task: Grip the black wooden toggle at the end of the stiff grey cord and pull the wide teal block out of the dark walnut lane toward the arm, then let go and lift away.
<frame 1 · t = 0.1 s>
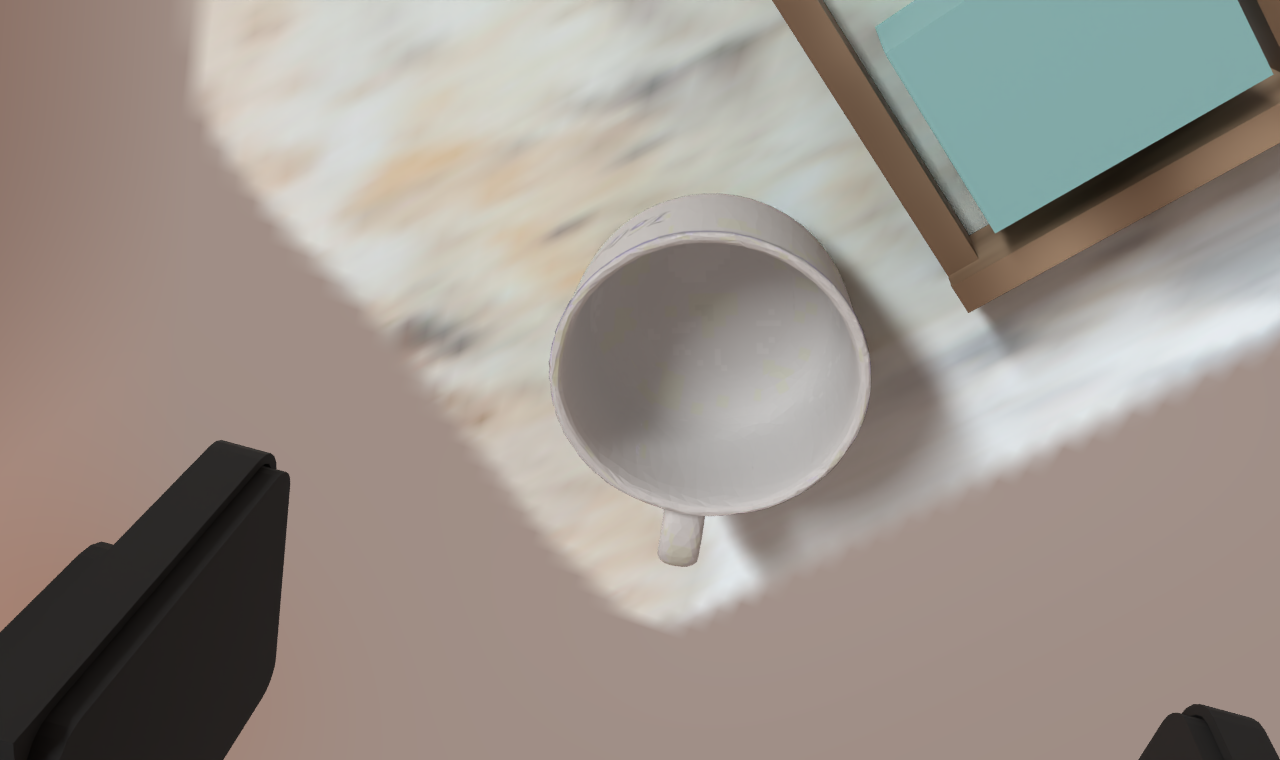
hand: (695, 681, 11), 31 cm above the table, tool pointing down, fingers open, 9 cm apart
teal block: (1042, 35, 37), on the table
teacup: (710, 329, 44), on the table
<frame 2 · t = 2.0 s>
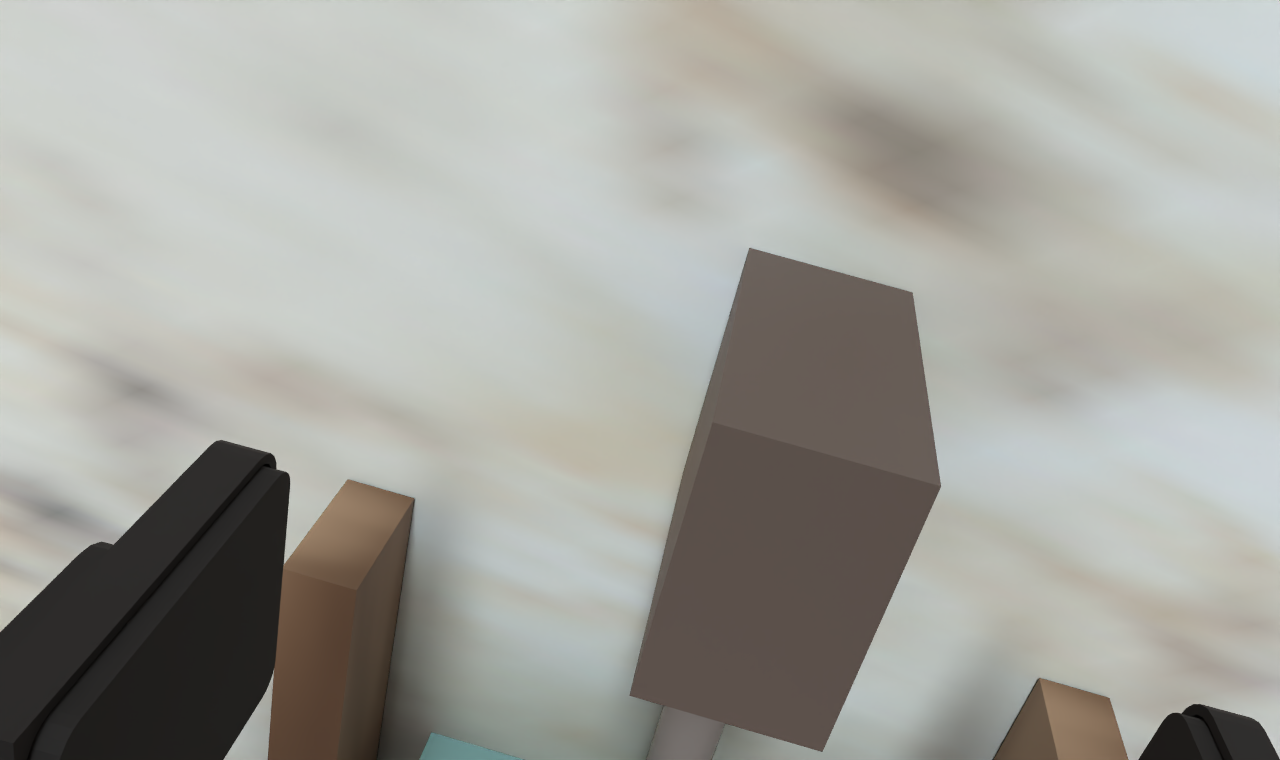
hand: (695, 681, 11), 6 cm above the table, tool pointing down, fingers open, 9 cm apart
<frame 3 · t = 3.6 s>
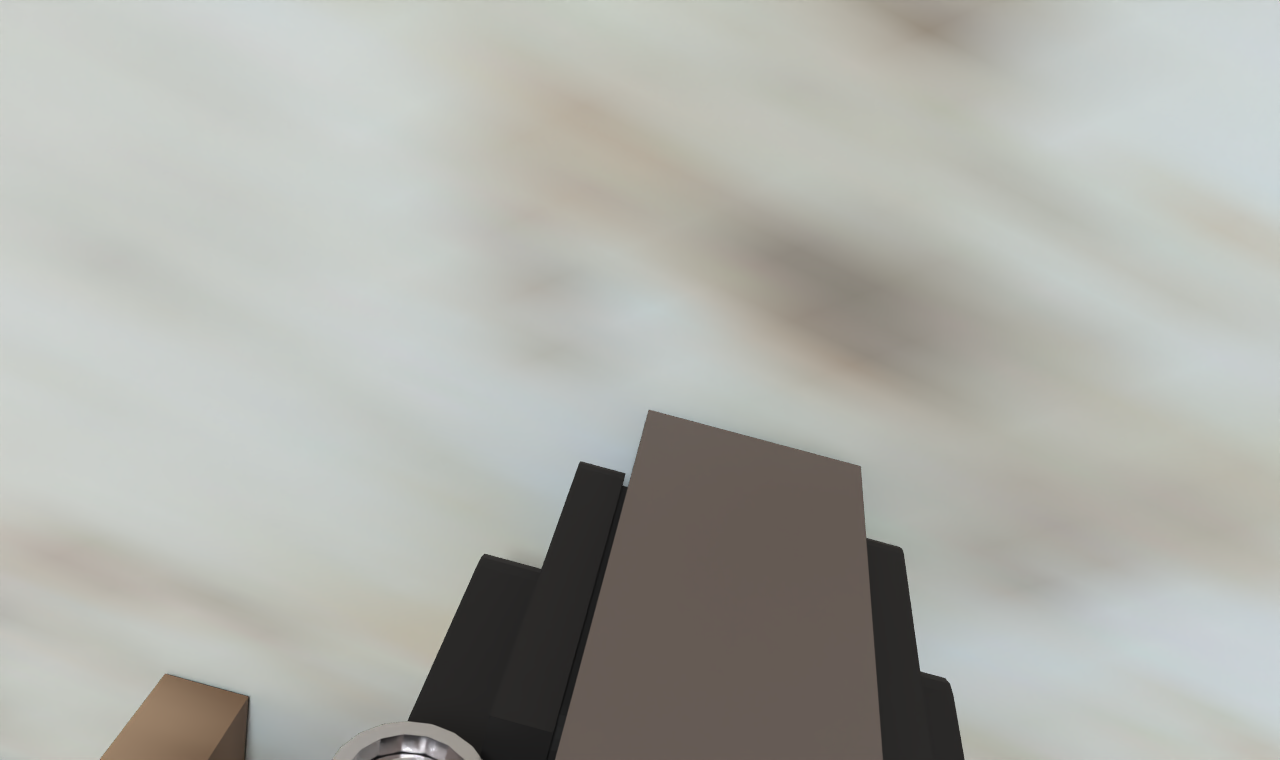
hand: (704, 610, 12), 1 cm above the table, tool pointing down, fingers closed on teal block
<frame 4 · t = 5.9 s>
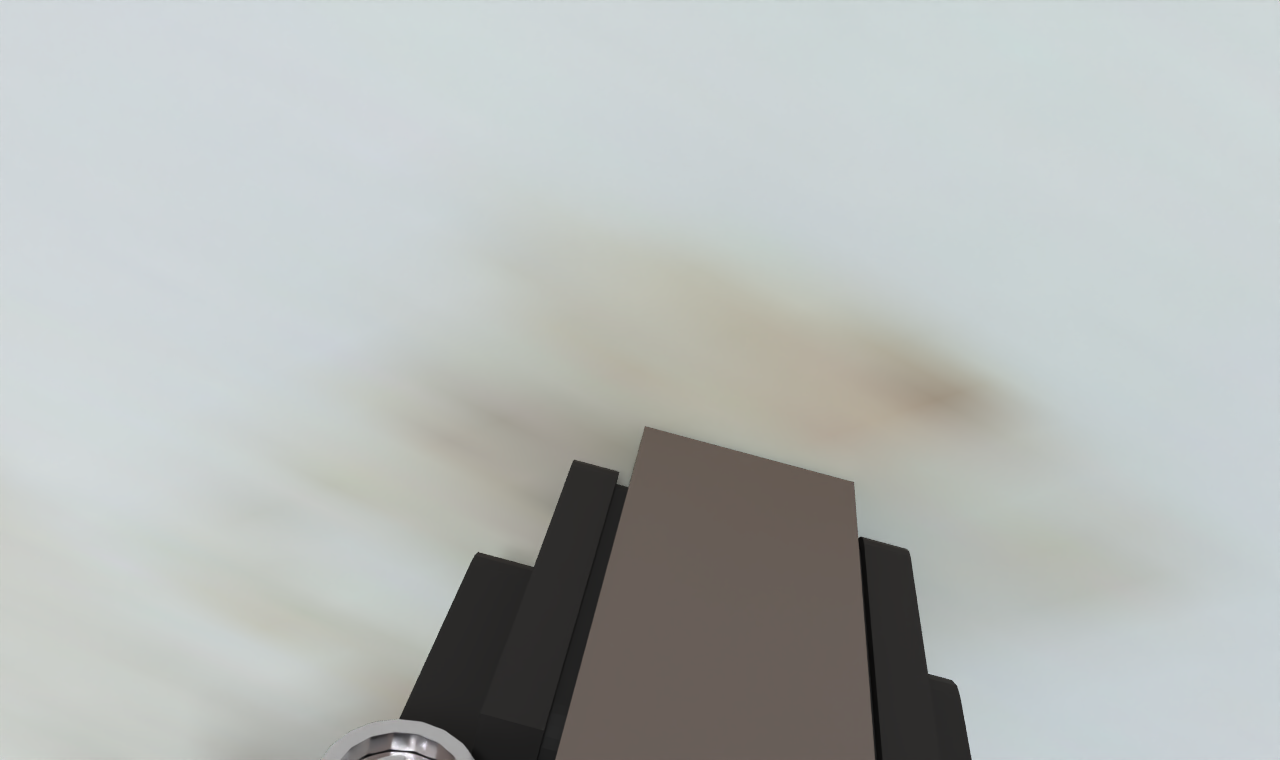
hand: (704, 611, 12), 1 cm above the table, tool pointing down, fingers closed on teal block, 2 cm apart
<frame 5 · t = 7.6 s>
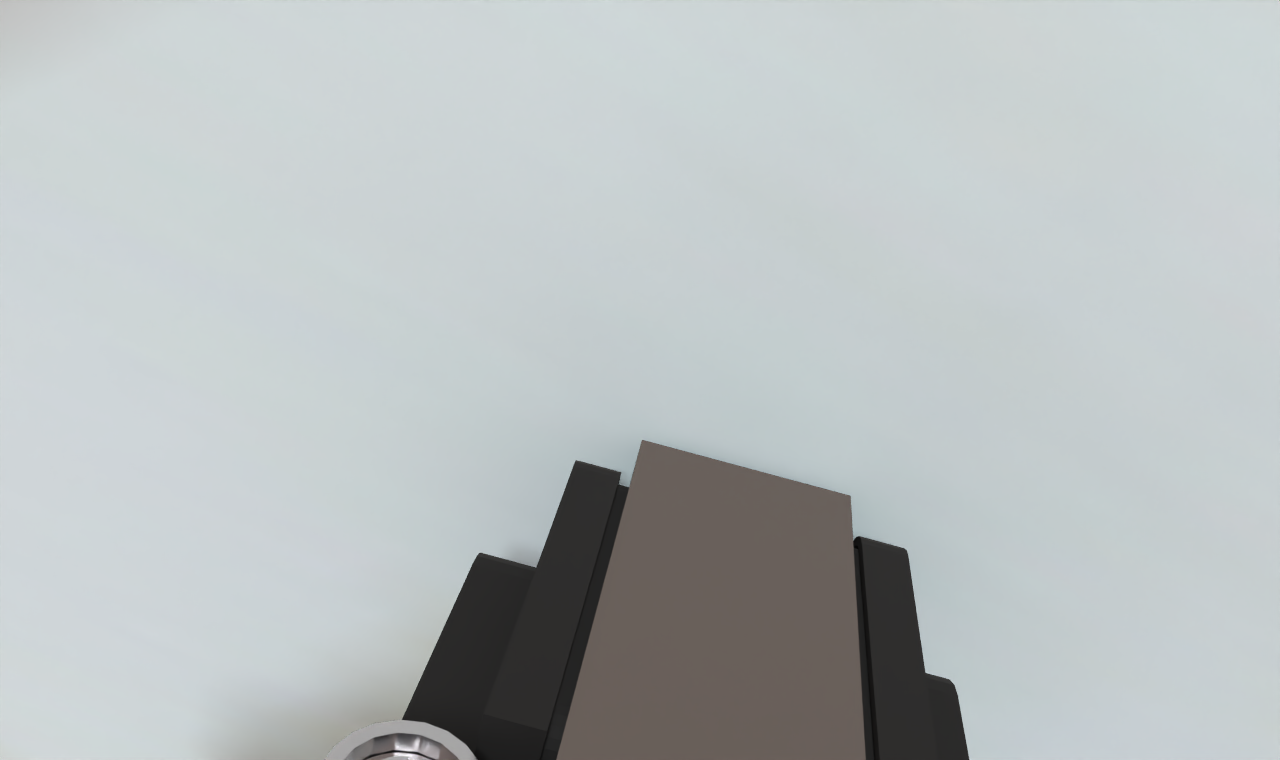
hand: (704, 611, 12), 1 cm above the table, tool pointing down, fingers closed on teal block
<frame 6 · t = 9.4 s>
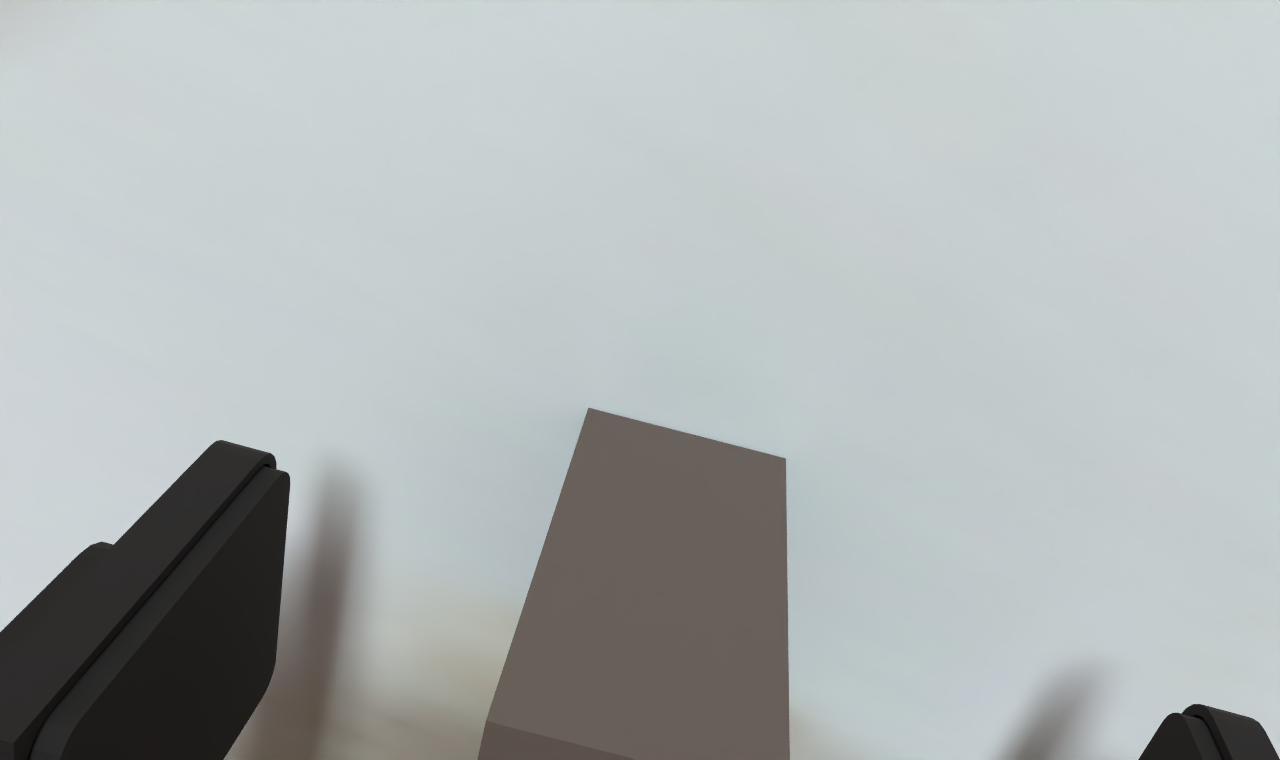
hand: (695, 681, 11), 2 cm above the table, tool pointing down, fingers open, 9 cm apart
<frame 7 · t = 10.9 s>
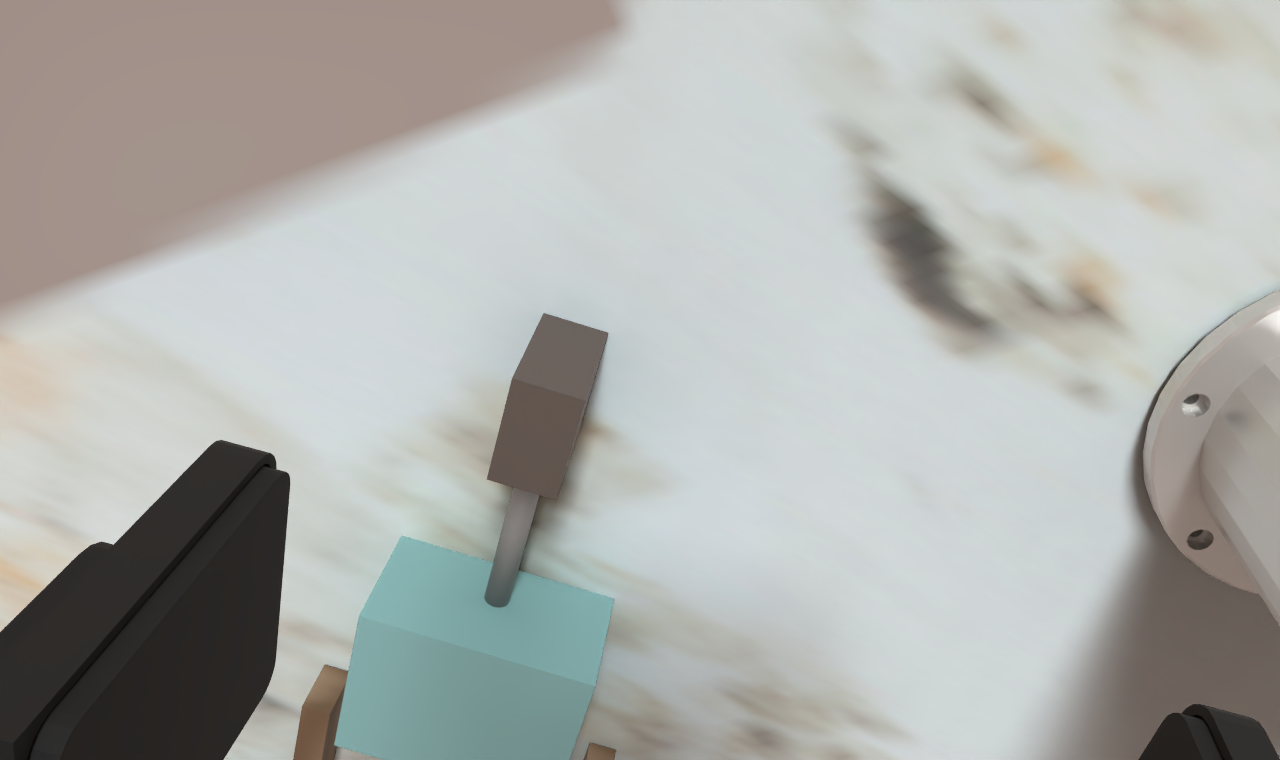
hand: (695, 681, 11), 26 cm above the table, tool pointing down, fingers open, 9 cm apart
teal block: (491, 629, 45), on the table
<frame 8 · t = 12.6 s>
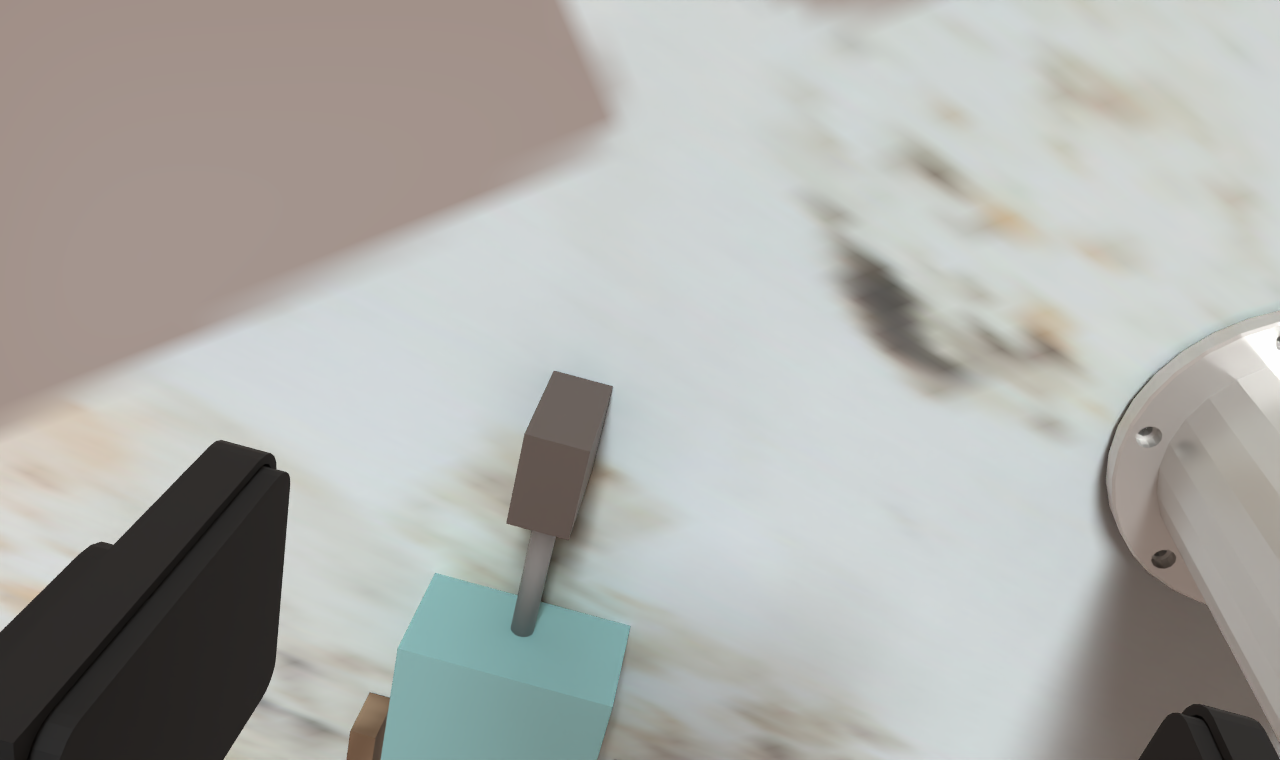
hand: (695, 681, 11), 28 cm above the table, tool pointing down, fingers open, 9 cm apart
teal block: (519, 656, 49), on the table
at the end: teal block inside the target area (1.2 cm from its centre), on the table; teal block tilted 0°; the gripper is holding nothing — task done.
